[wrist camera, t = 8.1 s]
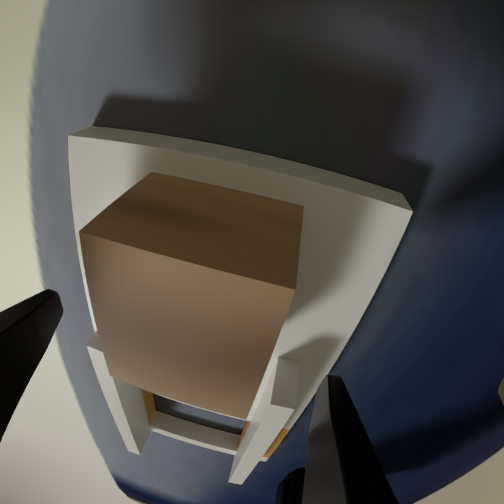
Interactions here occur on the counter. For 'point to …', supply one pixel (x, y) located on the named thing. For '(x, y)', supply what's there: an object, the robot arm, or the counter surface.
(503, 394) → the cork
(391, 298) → the counter surface
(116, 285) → the walnut block
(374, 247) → the white mounting bracket
